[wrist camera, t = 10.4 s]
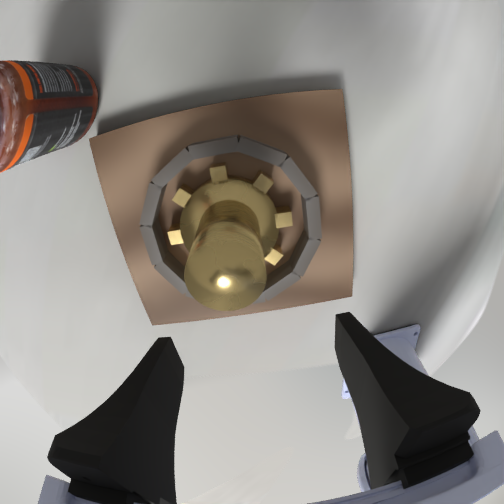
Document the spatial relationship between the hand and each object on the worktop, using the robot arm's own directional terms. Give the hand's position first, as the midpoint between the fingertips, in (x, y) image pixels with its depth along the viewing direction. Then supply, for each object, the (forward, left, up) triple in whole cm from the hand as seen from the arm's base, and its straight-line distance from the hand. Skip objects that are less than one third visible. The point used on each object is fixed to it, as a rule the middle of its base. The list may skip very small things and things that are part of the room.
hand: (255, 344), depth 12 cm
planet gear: (+2, +1, -9) cm, 9 cm away
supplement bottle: (+13, +11, -10) cm, 20 cm away
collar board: (+2, +1, -10) cm, 10 cm away
